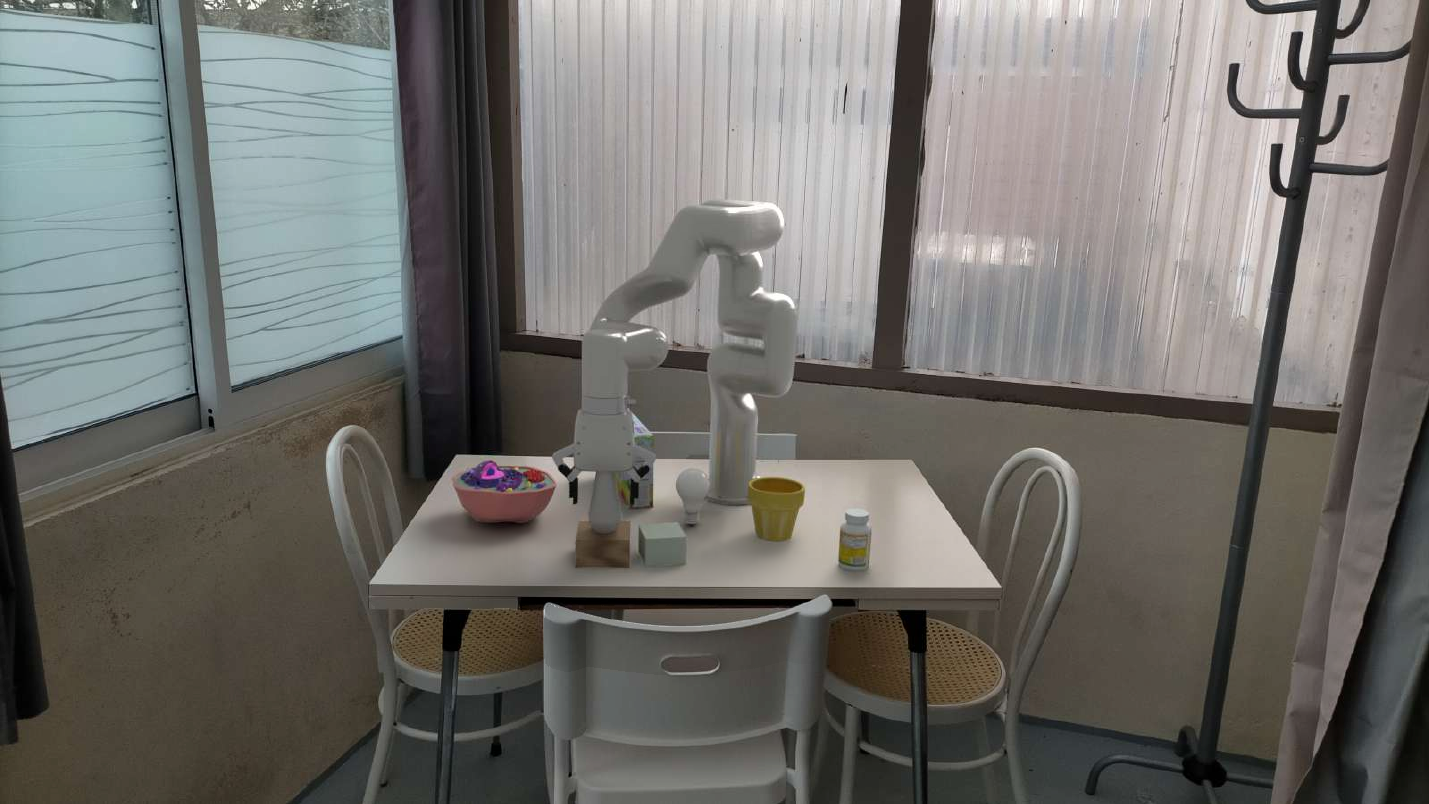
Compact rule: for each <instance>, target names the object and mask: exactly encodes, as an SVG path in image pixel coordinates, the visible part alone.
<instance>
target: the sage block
mask: <svg viewBox="0 0 1429 804" xmlns="http://www.w3.org/2000/svg"><path fill="white" fill-rule="evenodd" d="M637 534H638V541H637V542H638V543H637V545H638V546H637V549H638V550H637V551H638V554H639V556H640V559H641V561H642V563H643V565H644V567H645V568H650V567H651V568H652V567H663V566H664V567H665V566H666V567H667V566H677V565H687V542H688V541H687V539H688V537H687V535H686V532H684V530H683V528H682V526H681V525H680V524H679V521H677V522H676V521H675V522H674V521H673V522H661V523H660V522H657V523H643V524H641V523H640V524H638V533H637Z"/></svg>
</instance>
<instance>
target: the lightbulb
mask: <svg viewBox="0 0 1429 804" xmlns="http://www.w3.org/2000/svg"><path fill="white" fill-rule="evenodd" d="M675 481H676V482H675V491H676V493H677V495H678V496H679V498H680V499H681V501H682V506H683V509H684V523H685V524H687V525H689V526H695V525H697V524H699V522H700V521H699V519H700V510H701V508H702V504H703V502H704V500H705V497H706V496H707V494H708V492H709V489H710V482H709V476H708V475H707V474H706V473H705V472H704V471H703V470H701V469H699V468H695V467H693V468H690V467H689V468H686V469H684V470H683V471H682V472H680V473H679V474H678V476H677V478H676V480H675Z"/></svg>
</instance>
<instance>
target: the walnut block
mask: <svg viewBox="0 0 1429 804" xmlns="http://www.w3.org/2000/svg"><path fill="white" fill-rule="evenodd" d="M577 524H578V525H577V530H576V536H575V569H629V568H630V566H631V565H630V563H631V559H630V558H631V520H621V522H620V524H619V526H618V528H617V529H616V531H615V532H614V533H609V534H600V533H595V531H594V530H593V528H592V526H591V524H590V522H589V520H578V522H577Z"/></svg>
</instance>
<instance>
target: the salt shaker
mask: <svg viewBox="0 0 1429 804" xmlns="http://www.w3.org/2000/svg"><path fill="white" fill-rule="evenodd" d="M591 492H592V493H591V498H590V504H589V509H588V517H587V518H588V521H589V522H590V524H591V526H592V528H593V530H594V531H595V533H600V534H609V533H614V532H615V531H616V529H617V528H618V526H619V524H620V522H621V521H623V514H622V507H621V503H620V502H621V501H620V497H619V496H620V495H619V493H618V490H617V484H616V479H615V473H614V472H611V471H598V472H595V474H594V481H593V487H592V491H591Z"/></svg>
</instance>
